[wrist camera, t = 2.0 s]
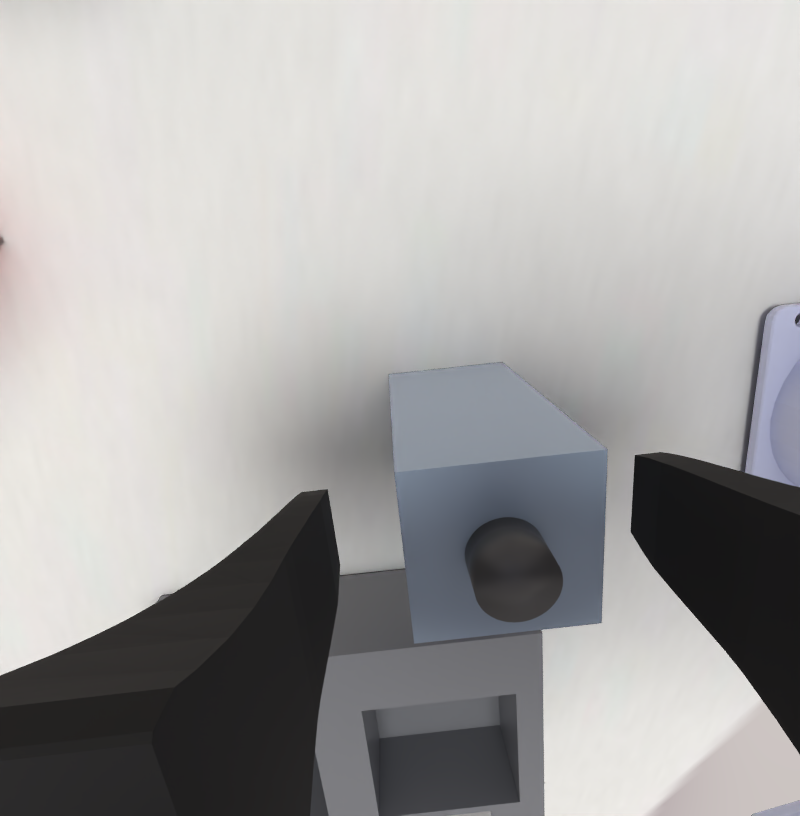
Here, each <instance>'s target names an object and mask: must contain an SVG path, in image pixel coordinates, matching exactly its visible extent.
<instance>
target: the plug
mask: <svg viewBox="0 0 800 816" xmlns="http://www.w3.org/2000/svg"><path fill="white" fill-rule="evenodd" d="M389 388H390V405H391V422H392V439H393V456H394V473H395V482H396V490H397V499H398V508H399V516H400V525H401V534H402V542H403V551H404V560H405V569H406V577H407V586H408V595H409V603H410V612H411V621H412V629H413V638H414V644H416V643H425V642H434V641H443V640H452V639H461V638H470V637H479V636H488V635H497V634H507V633H516V632H525V631H534V630H543V629H552V628H561V627H570V626H579V625H588V624H597V623H601V621H602V593H603V565H604V536H605V508H606V480H607V452H608V449H607V448H605V447H604V446H603V445H602V444H601V443H599V442H598V441H597V440H596V439H595V438H593V437H592V436H591V435H590V434H588V433H587V432H586V431H585V430H584V429H582V428H581V427H580V426H579V425H578V424H576V423H575V422H574V421H573V420H572V419H570V418H569V417H568V416H567V415H566V414H564V413H563V412H562V411H561V410H560V409H558V408H557V407H556V406H555V405H553V404H552V403H551V402H550V401H549V400H547V399H546V398H545V397H544V396H543V395H541V394H540V393H539V392H538V391H537V390H535V389H534V388H533V387H532V386H531V385H529V384H528V383H527V382H526V381H525V380H523V379H522V378H521V377H520V376H518V375H517V374H516V373H515V372H514V371H512V370H511V369H510V368H509V367H508V366H506V365H505V364H504V363H503V362H498V363H489V364H479V365H470V366H461V367H452V368H442V369H433V370H424V371H414V372H405V373H396V374H389Z"/></svg>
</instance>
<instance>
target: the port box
mask: <svg viewBox="0 0 800 816" xmlns="http://www.w3.org/2000/svg"><path fill="white" fill-rule="evenodd" d="M168 596H170V595H163V596H161V597H160V598H159V600H158V601H157V602H159V601H161V600H163V599H164V598H166V597H168ZM310 816H544V741H543V655H542V631H541V630H534V631H525V632H516V633H507V634H497V635H488V636H479V637H470V638H461V639H452V640H443V641H434V642H425V643H416V644H414V638H413V629H412V621H411V612H410V603H409V595H408V586H407V577H406V569H400V570H391V571H382V572H373V573H364V574H355V575H345V576H339V595H338V606H337V612H336V618H335V624H334V629H333V635H332V640H331V646H330V651H329V657H328V662H327V667H326V673H325V678H324V684H323V689H322V694H321V701H320V708H319V715H318V722H317V734H316V746H315V757H314V769H313V782H312V796H311V809H310Z"/></svg>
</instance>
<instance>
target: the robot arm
mask: <svg viewBox="0 0 800 816" xmlns="http://www.w3.org/2000/svg"><path fill="white" fill-rule="evenodd" d="M799 313H800V303H796V304H787V305H780V306H777V307H775V308H773V309H772V310H771V311H770V312H769V313H768V315H767V317H766V320H765V325H764V333H763V340H762V348H761V356H760V363H759V371H758V378H757V386H756V393H755V401H754V408H753V416H752V423H751V431H750V438H749V446H748V453H747V461H746V468H745V473H744V472H740V471H737V470H733V469H730V468H726V467H722V466H719V465H715V464H712V463H708V462H704V461H701V460H697V459H693V458H689V457H685V456H680V455H675V454H670V453H663V452H659V453H650V454H641V455H635V464H634V482H633V500H632V518H631V533H632V535H633V536H634V538H635V540H636V541H637V543H638V545H639V546H640V548H641V549H642V551H643V553H644V554H645V556H646V557H647V559H648V560H649V562H650V563H651V565H652V566H653V567H654V569H655V570H656V571H657V572H658V574H659V575H660V576H661V577H662V578H663V580H664V581H665V582H666V583H667V584H668V585H669V587H670V588H671V589H672V590H673V591H674V592H675V594H676V595H677V596H678V597H679V598H680V599H681V601H682V602H683V603H684V604H685V605H686V606H687V607H688V609H689V610H690V611H691V612H692V613H693V614H694V615H695V617H696V618H697V619H698V620H699V621H700V622H701V624H702V625H703V626H704V627H705V628H706V629H707V630H708V632H709V633H710V634H711V635H712V636H713V637H714V638H715V640H716V641H717V642H718V643H719V644H720V645H721V647H722V648H723V649H724V650H725V651H726V652H727V654H728V655H729V656H730V657H731V659H732V660H733V661H734V662H735V664H736V665H737V666H738V667H739V669H740V670H741V671H742V672H743V674H744V675H745V676H746V678H747V679H748V681H749V682H750V683H751V685H752V686H753V688H754V689H755V690H756V692H757V693H758V695H759V696H760V697H761V699H762V700H763V702H764V703H765V704H766V706H767V707H768V709H769V710H770V711H771V713H772V714H773V715H774V717H775V718H776V719H777V721H778V723H779V724H780V726H781V727H782V729H783V730H784V732H785V733H786V735H787V736H788V737H789V739H790V740H791V742H792V743H793V745H794V746H795V748H796V749H797V751H798V752H799V754H800V320H799V322H798V323H797V324H796V325H795V319H796V316H797V315H798V314H799ZM339 575H340V562H339V556H338V550H337V544H336V538H335V531H334V525H333V519H332V513H331V507H330V501H329V495H328V489H327V490H318V491H309V492H301V493H300V494H299V495H297V496H296V497H295V498H294V499H293V500H292V501H290V502H289V503H288V504H287V505H286V506H285V507H284V508H283V509H282V510H281V511H280V512H279V513H277V514H276V515H275V516H274V517H273V518H272V519H271V520H270V521H269V522H268V523H267V524H265V525H264V526H263V527H262V528H261V529H260V530H259V531H258V532H257V533H255V534H254V535H253V536H252V537H251V538H249V539H248V540H247V541H246V542H244V543H243V544H242V545H241V546H240V547H238V548H237V549H236V550H235V551H233V552H232V553H231V554H230V555H229V556H227V557H226V558H225V559H223V560H222V561H221V562H219V563H218V564H217V565H215V566H214V567H213V568H211V569H210V570H208V571H207V572H206V573H204V574H203V575H201V576H200V577H198V578H197V579H195V580H194V581H192V582H191V583H189V584H188V585H186V586H185V587H183V588H181V589H180V590H178V591H177V592H175V593H173V594H171V595H170V596H168V597H166V598H164V599H163V600H161V601H159V602H157V603H156V604H154V605H152V606H150V607H149V608H147V609H145V610H143V611H142V612H140V613H138V614H136V615H134V616H133V617H131V618H129V619H127V620H125V621H123V622H121V623H119V624H117V625H115V626H113V627H111V628H109V629H107V630H105V631H103V632H101V633H99V634H97V635H95V636H93V637H91V638H88V639H86V640H84V641H82V642H80V643H78V644H75V645H73V646H71V647H69V648H67V649H64V650H62V651H60V652H57V653H55V654H53V655H51V656H48V657H46V658H43V659H41V660H38V661H36V662H33V663H31V664H28V665H26V666H23V667H21V668H18V669H16V670H13V671H11V672H8V673H6V674H3V675H1V676H0V816H310V809H311V796H312V782H313V769H314V757H315V746H316V734H317V722H318V715H319V708H320V701H321V694H322V689H323V684H324V678H325V673H326V667H327V662H328V657H329V651H330V646H331V640H332V635H333V629H334V624H335V618H336V612H337V606H338V595H339ZM751 816H800V800H798V801H795V802H792V803H788V804H785V805H782V806H778V807H775V808H771V809H768V810H765V811H761V812H758V813H755V814H752V815H751Z"/></svg>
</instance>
